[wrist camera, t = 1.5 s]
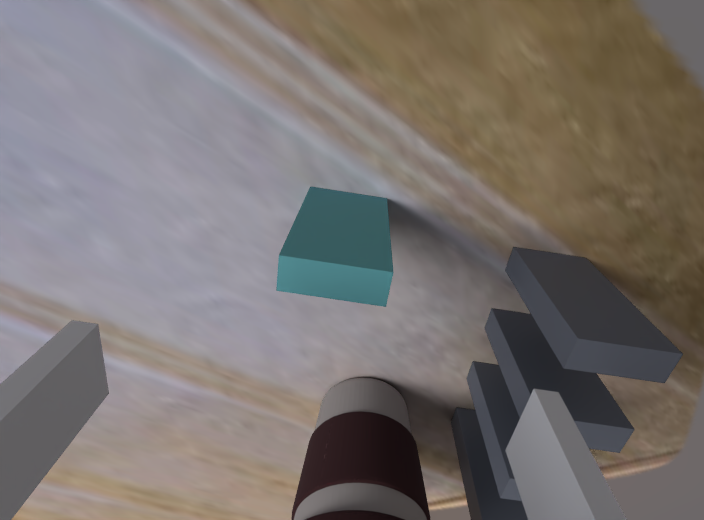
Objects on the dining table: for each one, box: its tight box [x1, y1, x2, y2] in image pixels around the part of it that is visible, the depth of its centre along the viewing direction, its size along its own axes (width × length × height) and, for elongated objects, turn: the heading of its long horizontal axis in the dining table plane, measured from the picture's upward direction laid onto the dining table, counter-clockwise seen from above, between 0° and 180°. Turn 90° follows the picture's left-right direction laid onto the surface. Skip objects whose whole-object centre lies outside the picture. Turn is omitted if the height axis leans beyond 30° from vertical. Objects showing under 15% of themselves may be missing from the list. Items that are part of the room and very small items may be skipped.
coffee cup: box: [292, 378, 430, 520], centre depth 29 cm, size 10×10×15 cm
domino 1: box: [276, 187, 393, 307], centre depth 23 cm, size 2×5×10 cm, turn 82°
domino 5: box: [485, 308, 634, 453], centre depth 27 cm, size 2×5×10 cm, turn 82°
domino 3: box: [451, 407, 528, 520], centre depth 31 cm, size 2×5×10 cm, turn 82°
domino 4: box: [505, 247, 683, 383], centre depth 24 cm, size 2×5×10 cm, turn 82°
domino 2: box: [467, 361, 522, 501], centre depth 29 cm, size 2×5×10 cm, turn 82°
